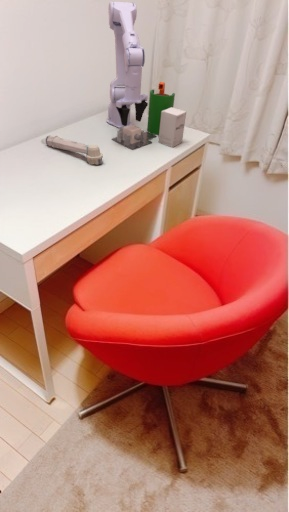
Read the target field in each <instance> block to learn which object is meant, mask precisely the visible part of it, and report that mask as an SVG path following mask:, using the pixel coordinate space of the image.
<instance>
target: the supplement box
mask: <svg viewBox="0 0 289 512" xmlns="http://www.w3.org/2000/svg"><path fill="white" fill-rule="evenodd" d="M186 116H187V111H186V110H182V109H179V108H175V107H174V106H173V107H171V108H168V109H166V110H163V111H161V121H160V130H159V135H158V140H157V141H158V143H159V144H163V145H164V146H168V147H169V148H174V147H175V146H177V145H179V144H182V143H183V138H184V131H185V126H186V125H185V123H186V119H187V118H186Z"/></svg>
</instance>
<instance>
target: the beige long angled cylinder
mask: <svg viewBox="0 0 289 512" xmlns="http://www.w3.org/2000/svg"><path fill="white" fill-rule="evenodd" d="M45 145H47V146H48V147H51V148H53V149H55V150H56V149H59V150H60V149H61V150H65V151H69V152H74V153H80V154H85V159H86V160H87V163H89V165H92V166H93V165H101V164H103V158H104V155H103V153H102V152H101V151H100V147H99V145H97V144H96V145H95V144H90V145H89V144H85V143H81V142H77V141H73V140H70V139H67V138H63V137H59V136H58V135H55V136H54V135H48V136H46V138H45Z"/></svg>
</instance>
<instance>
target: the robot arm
mask: <svg viewBox="0 0 289 512" xmlns="http://www.w3.org/2000/svg"><path fill="white" fill-rule="evenodd" d="M137 16H138V15H137V5H136V3H135V1H133V2H126V1H112V0H110V1H109V3H108V25H109V29H110V30H112V31H113V32H114V42H115V45H114V46H115V71H116V73H115V74H116V78H114V79H113V80H112V81H111V82H110V85H109V86H110V87H109V98H110V99H109V100H110V102H109V105H108V106H107V107H108V110H107V111H108V113H107V114H108V116H107V117H108V118H107V119H108V120H107V121H106V123H107V124H109V125H112V126H114V127H116V128H119V129H120V127H122V126H124V127H127V126H130V125H134V126H135V123H133V122H131V106H132V105H134V107H135V120H136V122H141V120H142V118H143V115H144V113H145V111H146V109H147V107H149V102H148V97H149V96H148V94H144V93H143V94H141V91H142V89H141V88H142V77H143V76H142V75H143V74H142V73H143V72H142V71H143V68H144V66H145V62H146V61H145V60H146V58H145V57H146V53H145V48H144V47H143V46H141V43H140V39H139V34H138V32H137V31H135V28H134V26H135V23H136V21H137V20H136V19H137Z"/></svg>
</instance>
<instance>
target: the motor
mask: <svg viewBox="0 0 289 512" xmlns="http://www.w3.org/2000/svg"><path fill="white" fill-rule="evenodd" d="M165 87H166V83H165V82H161V81H160V82H159V83H158V90H159V92H158V93H155V89H150V91H149V100H148V112H147V124H146V125H147V127H146V130H147V132H149V133H151V134H153V135H156V136H159V130H160V121H161V111H163V110H166V109H168V108H171V107H173V108H174V104H175V96H176V93H175V92H173V93H172V94H166V93H165Z"/></svg>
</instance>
